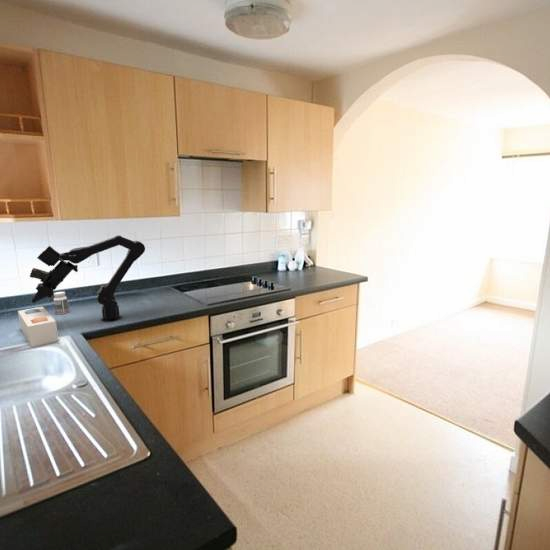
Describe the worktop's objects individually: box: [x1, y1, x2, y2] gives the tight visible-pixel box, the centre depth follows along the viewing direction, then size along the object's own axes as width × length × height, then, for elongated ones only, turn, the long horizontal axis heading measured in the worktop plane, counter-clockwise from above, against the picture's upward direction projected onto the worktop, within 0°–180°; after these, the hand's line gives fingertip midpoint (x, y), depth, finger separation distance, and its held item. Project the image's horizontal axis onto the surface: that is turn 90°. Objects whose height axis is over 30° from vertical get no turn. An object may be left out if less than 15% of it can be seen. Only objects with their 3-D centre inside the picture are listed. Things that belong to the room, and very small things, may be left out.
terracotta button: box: [33, 317, 46, 323], centre depth 143 cm, size 4×4×2 cm
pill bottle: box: [53, 291, 70, 315], centre depth 178 cm, size 6×6×10 cm
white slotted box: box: [17, 306, 59, 348], centre depth 149 cm, size 26×9×8 cm, turn 41°
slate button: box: [26, 308, 39, 314], centre depth 154 cm, size 4×4×2 cm
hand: (32, 302), depth 153 cm, fingers closed
